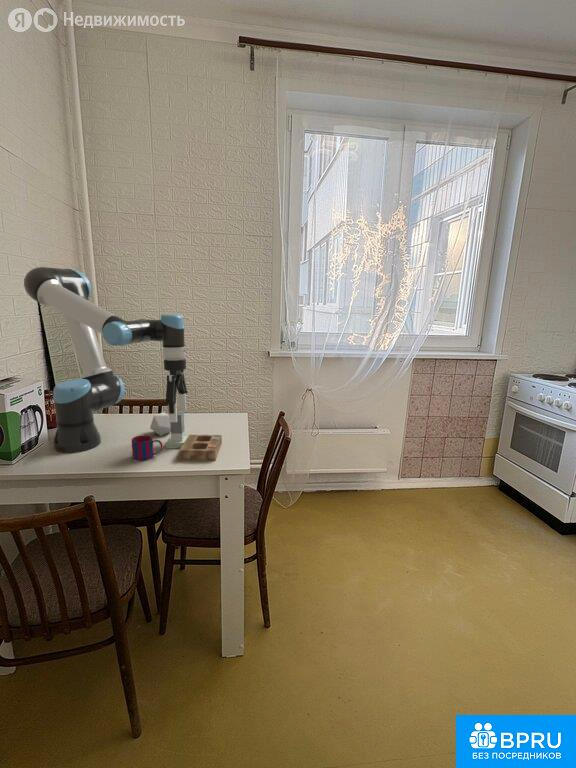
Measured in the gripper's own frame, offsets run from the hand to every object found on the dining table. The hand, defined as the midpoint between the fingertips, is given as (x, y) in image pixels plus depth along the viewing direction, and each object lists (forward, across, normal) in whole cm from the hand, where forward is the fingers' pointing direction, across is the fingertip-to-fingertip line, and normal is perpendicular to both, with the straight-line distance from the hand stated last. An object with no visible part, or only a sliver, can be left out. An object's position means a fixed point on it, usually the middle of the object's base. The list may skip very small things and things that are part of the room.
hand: (178, 416), depth 140 cm
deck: (+11, 0, +1) cm, 11 cm away
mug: (+11, -12, +8) cm, 18 cm away
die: (+11, +12, +10) cm, 19 cm away
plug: (+9, 0, 0) cm, 9 cm away
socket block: (+11, -6, -9) cm, 16 cm away
